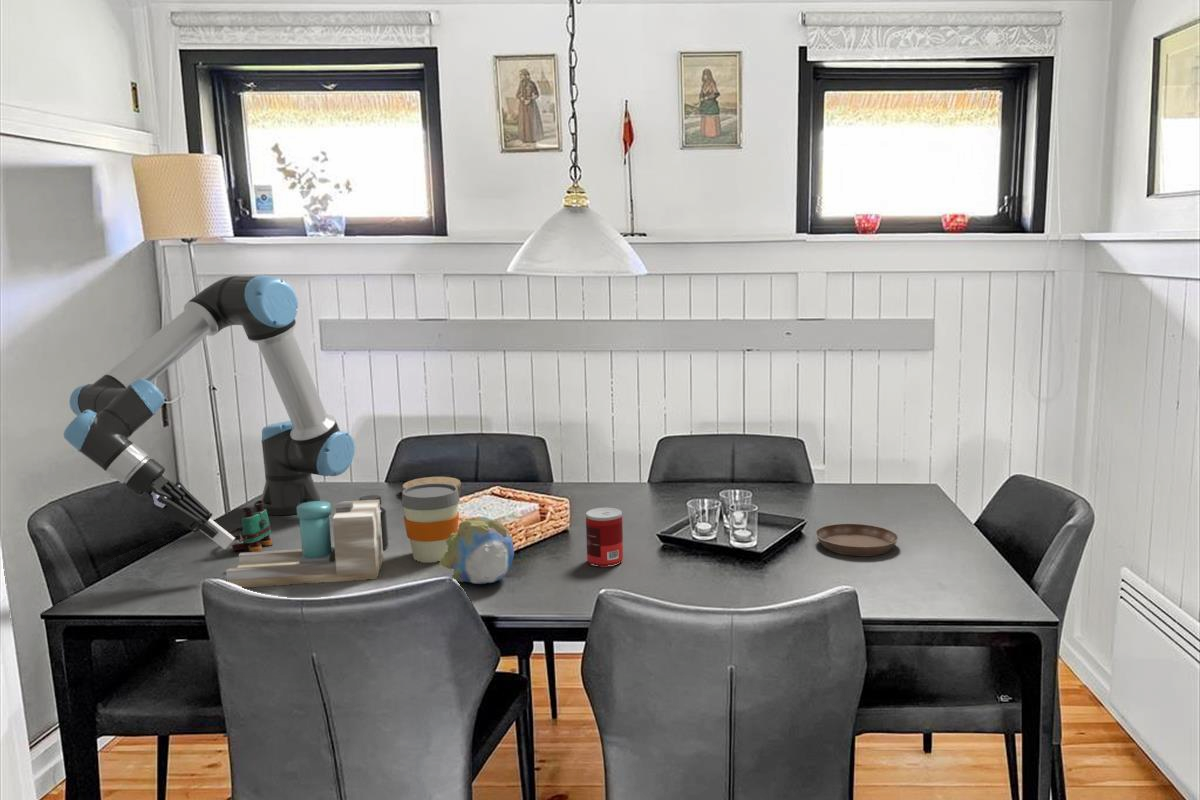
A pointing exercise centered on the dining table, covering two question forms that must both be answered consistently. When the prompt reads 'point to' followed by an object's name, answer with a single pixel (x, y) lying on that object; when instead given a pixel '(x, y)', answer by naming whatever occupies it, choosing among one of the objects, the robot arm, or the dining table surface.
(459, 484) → the tan shallow dish
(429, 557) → the reusable coffee cup
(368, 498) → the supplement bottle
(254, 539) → the binoculars
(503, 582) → the dining table surface
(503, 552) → the decorative rock
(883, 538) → the plant saucer
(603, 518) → the canned food
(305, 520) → the knob slider
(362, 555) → the knob mount
